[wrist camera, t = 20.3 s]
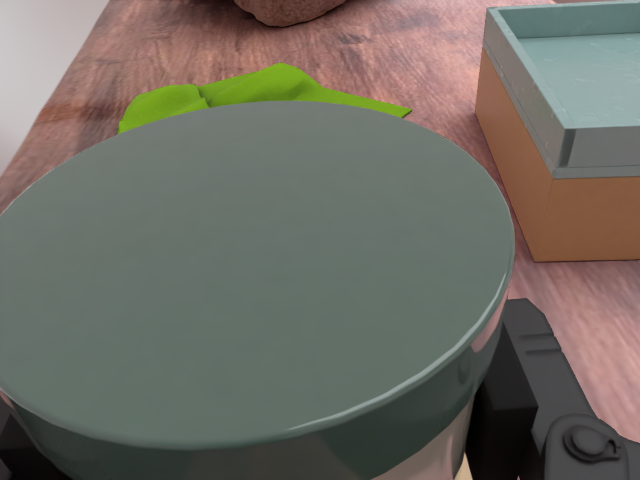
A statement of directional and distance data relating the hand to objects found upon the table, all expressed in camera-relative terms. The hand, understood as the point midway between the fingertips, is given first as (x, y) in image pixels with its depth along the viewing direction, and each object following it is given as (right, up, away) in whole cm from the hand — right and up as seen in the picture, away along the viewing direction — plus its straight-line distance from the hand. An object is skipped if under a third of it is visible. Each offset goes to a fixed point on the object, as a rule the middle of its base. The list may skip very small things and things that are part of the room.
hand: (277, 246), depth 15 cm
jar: (+1, -8, +1) cm, 8 cm away
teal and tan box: (+18, +5, +20) cm, 28 cm away
